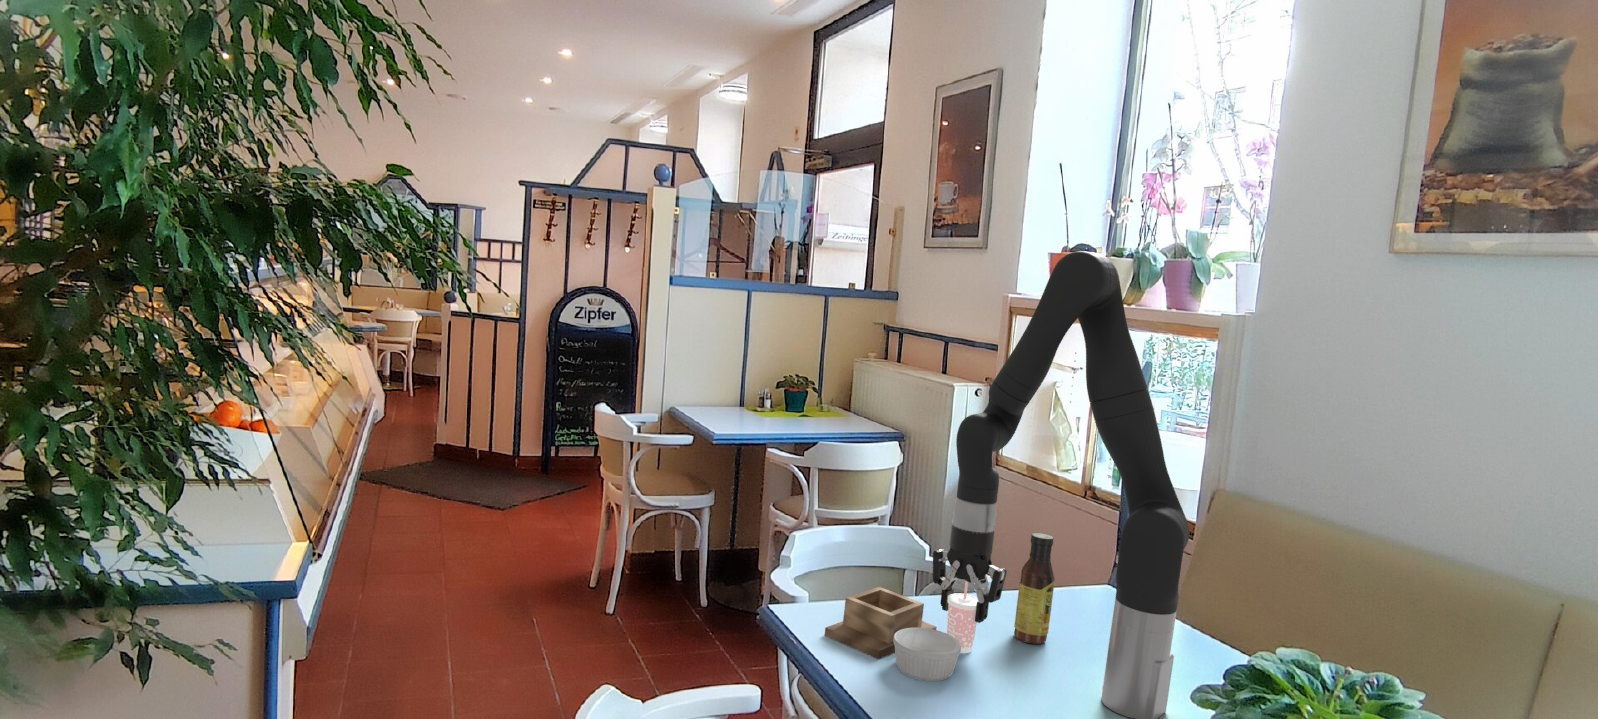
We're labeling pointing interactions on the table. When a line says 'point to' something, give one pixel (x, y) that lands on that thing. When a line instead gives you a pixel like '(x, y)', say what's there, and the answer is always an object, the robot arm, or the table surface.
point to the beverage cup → (962, 618)
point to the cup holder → (876, 621)
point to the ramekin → (926, 653)
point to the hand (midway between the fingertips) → (962, 615)
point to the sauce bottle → (1035, 592)
